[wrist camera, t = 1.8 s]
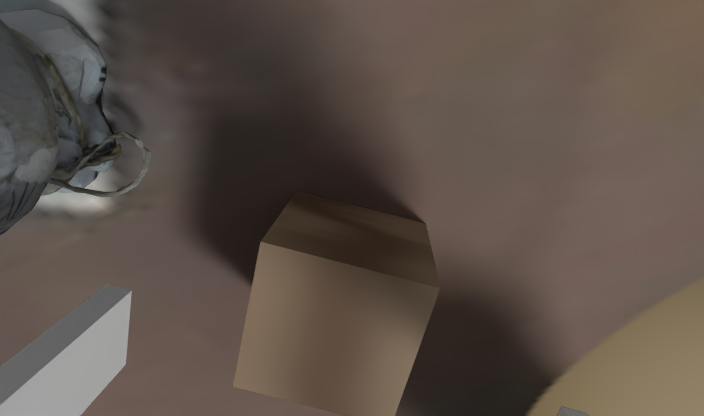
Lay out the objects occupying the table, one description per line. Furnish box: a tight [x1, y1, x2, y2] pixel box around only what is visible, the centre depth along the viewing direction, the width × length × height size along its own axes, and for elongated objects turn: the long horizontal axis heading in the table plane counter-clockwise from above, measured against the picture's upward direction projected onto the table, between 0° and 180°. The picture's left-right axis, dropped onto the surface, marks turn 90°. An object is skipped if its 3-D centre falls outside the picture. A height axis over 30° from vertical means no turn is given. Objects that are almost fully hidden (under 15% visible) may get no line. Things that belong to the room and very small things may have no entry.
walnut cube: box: [233, 190, 440, 416], centre depth 18 cm, size 6×6×6 cm
